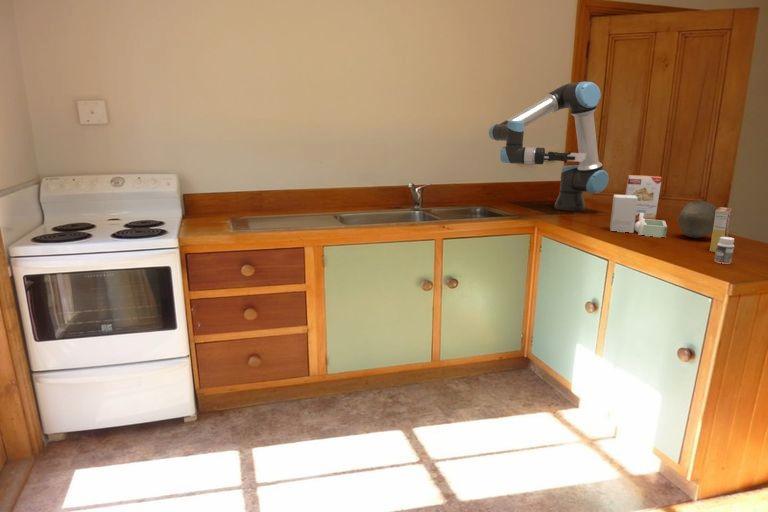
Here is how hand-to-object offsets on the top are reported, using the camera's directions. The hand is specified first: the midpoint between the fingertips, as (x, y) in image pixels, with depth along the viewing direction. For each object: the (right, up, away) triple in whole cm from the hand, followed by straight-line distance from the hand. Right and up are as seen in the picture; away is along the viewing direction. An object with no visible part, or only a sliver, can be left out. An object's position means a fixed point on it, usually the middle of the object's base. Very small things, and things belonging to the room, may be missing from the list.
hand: (584, 157), depth 224 cm
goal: (+24, -34, -10) cm, 43 cm away
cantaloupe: (+37, -37, -19) cm, 55 cm away
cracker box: (+33, -27, +19) cm, 46 cm away
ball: (+20, -31, -10) cm, 38 cm away
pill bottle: (+25, -46, -54) cm, 75 cm away
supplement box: (+13, -33, -6) cm, 36 cm away
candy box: (+33, -42, -38) cm, 66 cm away
